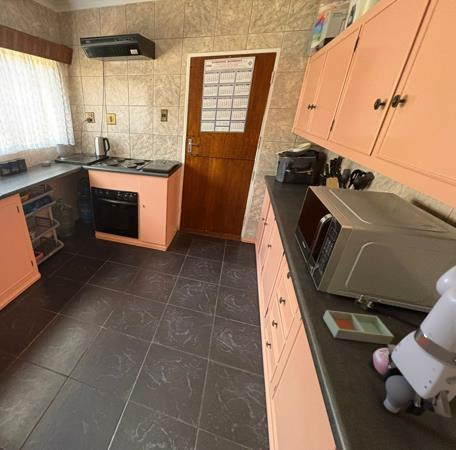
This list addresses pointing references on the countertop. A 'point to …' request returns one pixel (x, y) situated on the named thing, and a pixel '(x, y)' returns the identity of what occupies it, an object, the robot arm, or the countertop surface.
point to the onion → (381, 360)
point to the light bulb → (398, 393)
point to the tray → (357, 327)
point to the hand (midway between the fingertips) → (399, 395)
